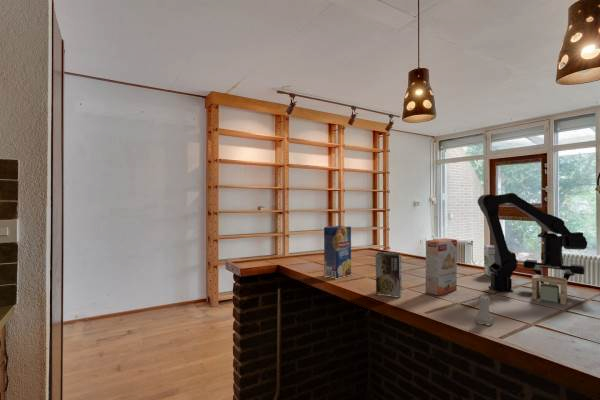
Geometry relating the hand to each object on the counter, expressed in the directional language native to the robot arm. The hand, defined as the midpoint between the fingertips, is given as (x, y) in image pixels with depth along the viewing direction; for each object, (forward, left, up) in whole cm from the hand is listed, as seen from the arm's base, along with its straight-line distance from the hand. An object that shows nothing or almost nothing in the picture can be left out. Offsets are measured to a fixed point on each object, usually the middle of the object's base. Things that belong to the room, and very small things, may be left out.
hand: (553, 288), depth 127 cm
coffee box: (-66, -6, -2) cm, 66 cm away
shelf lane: (-8, -9, -2) cm, 12 cm away
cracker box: (-44, -1, -2) cm, 44 cm away
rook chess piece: (-44, -34, -2) cm, 56 cm away
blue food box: (-84, +24, -2) cm, 87 cm away
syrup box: (-9, +28, -2) cm, 29 cm away
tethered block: (-5, -5, -2) cm, 7 cm away
